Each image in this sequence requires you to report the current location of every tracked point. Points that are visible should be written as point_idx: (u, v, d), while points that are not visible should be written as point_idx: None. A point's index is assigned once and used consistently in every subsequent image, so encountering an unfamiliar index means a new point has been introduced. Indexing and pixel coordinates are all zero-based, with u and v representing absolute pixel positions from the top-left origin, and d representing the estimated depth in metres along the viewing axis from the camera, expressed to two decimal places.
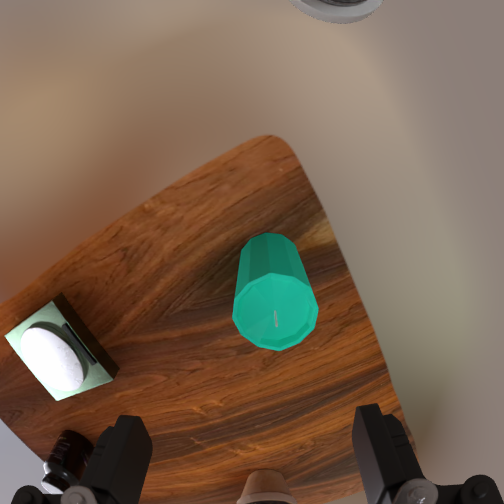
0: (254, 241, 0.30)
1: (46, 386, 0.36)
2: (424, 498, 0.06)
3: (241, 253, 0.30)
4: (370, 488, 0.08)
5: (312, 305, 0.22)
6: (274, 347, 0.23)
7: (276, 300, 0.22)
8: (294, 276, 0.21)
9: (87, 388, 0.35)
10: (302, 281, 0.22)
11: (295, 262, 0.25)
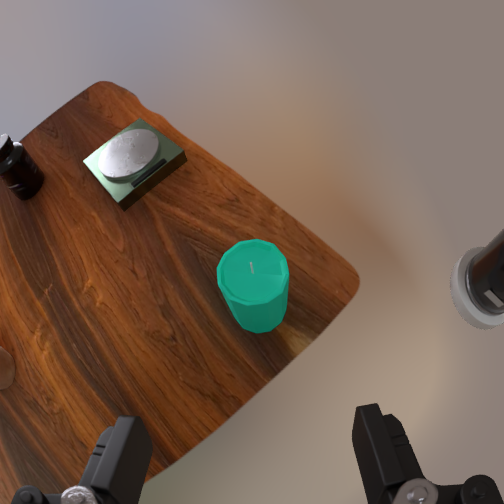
0: None
1: (96, 151, 0.47)
2: (424, 498, 0.06)
3: None
4: (370, 488, 0.08)
5: (268, 297, 0.26)
6: (220, 279, 0.26)
7: (262, 271, 0.27)
8: (288, 275, 0.26)
9: (103, 183, 0.43)
10: (285, 283, 0.26)
11: (285, 296, 0.29)
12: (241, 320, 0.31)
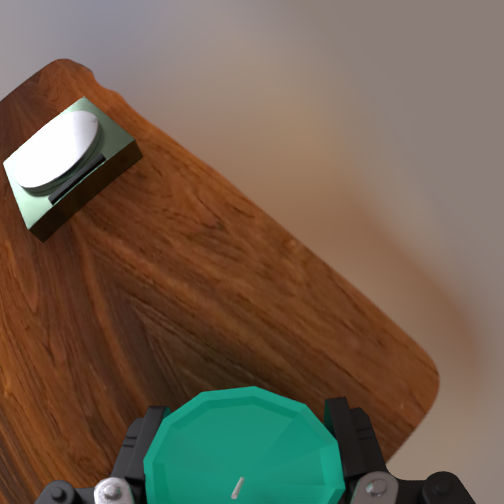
0: None
1: (20, 148, 0.27)
2: (383, 491, 0.06)
3: None
4: None
5: None
6: (153, 494, 0.07)
7: (269, 475, 0.08)
8: (342, 488, 0.07)
9: (17, 197, 0.24)
10: None
11: None
12: None
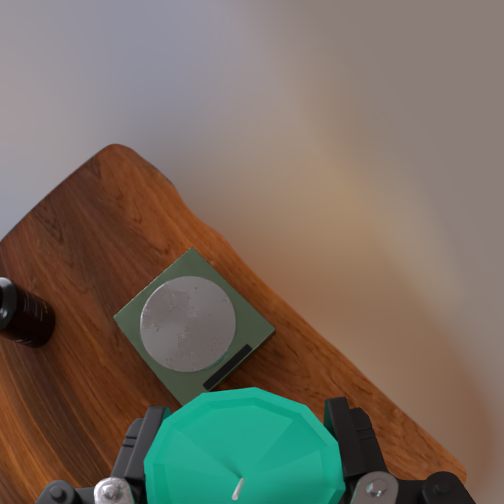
0: None
1: (131, 304, 0.33)
2: (383, 491, 0.06)
3: None
4: None
5: None
6: (153, 495, 0.07)
7: (270, 476, 0.08)
8: (343, 489, 0.07)
9: (155, 371, 0.30)
10: None
11: None
12: None
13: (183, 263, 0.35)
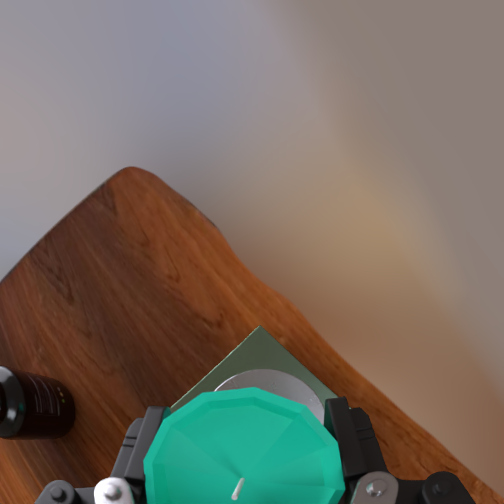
0: None
1: (183, 402, 0.24)
2: (383, 491, 0.06)
3: None
4: None
5: None
6: (153, 495, 0.07)
7: (269, 475, 0.08)
8: (343, 489, 0.07)
9: None
10: None
11: None
12: None
13: (250, 348, 0.26)
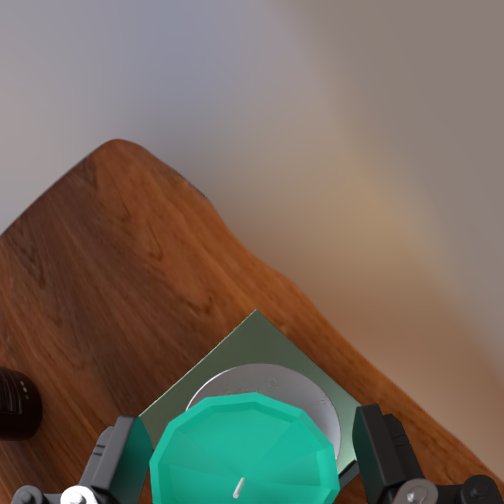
0: None
1: (160, 404, 0.19)
2: (424, 498, 0.06)
3: None
4: (370, 488, 0.08)
5: None
6: (158, 493, 0.08)
7: (269, 476, 0.08)
8: None
9: None
10: None
11: None
12: None
13: (244, 338, 0.21)
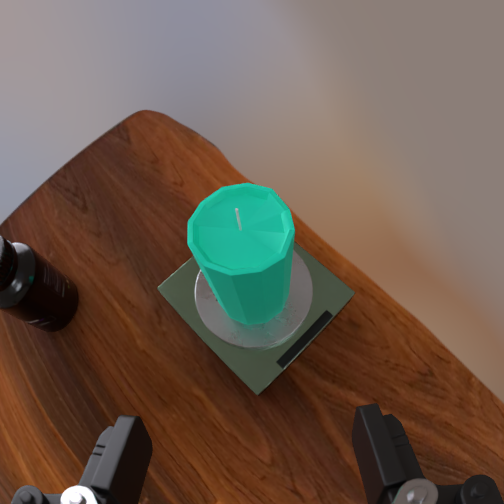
0: None
1: (181, 271, 0.29)
2: (424, 498, 0.06)
3: None
4: (370, 488, 0.08)
5: (262, 264, 0.17)
6: (191, 236, 0.18)
7: (254, 226, 0.18)
8: (294, 232, 0.18)
9: (215, 350, 0.26)
10: (289, 244, 0.17)
11: (288, 269, 0.21)
12: (226, 305, 0.23)
13: None
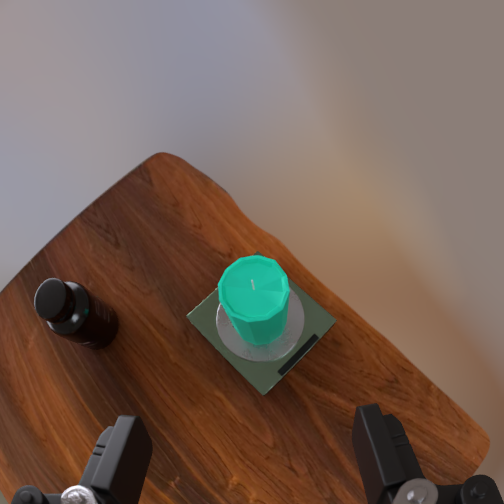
0: None
1: (204, 303, 0.38)
2: (424, 498, 0.06)
3: None
4: (370, 488, 0.08)
5: (268, 314, 0.26)
6: (221, 295, 0.27)
7: (263, 287, 0.27)
8: (289, 292, 0.27)
9: (232, 363, 0.35)
10: (286, 300, 0.26)
11: (286, 311, 0.30)
12: (242, 333, 0.32)
13: None
